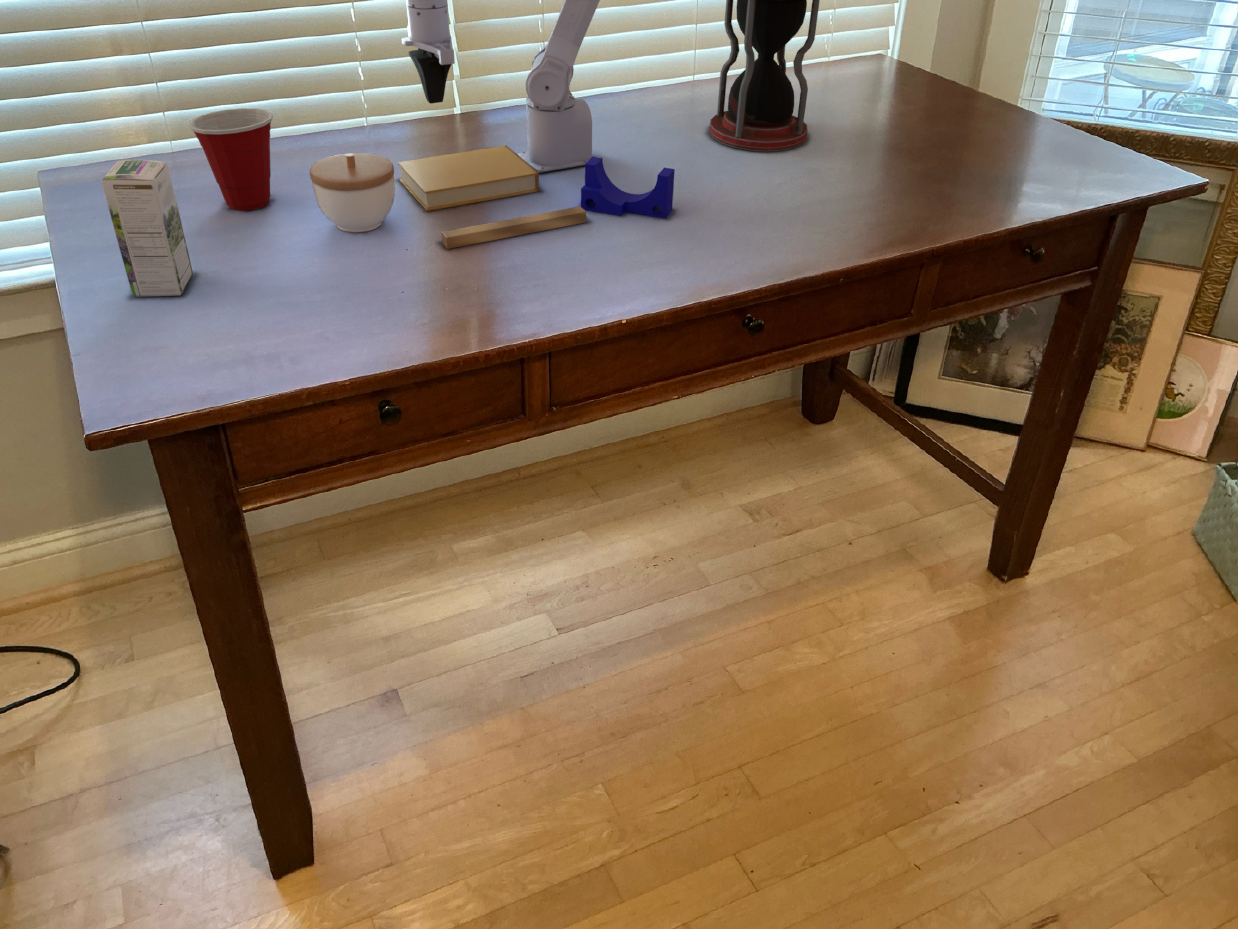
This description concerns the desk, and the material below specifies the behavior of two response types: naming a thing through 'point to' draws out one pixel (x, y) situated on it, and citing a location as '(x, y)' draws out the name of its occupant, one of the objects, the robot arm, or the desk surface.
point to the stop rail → (513, 227)
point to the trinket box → (354, 189)
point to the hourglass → (764, 77)
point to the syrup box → (148, 227)
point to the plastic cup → (238, 154)
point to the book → (468, 177)
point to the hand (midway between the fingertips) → (435, 101)
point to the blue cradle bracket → (625, 193)
